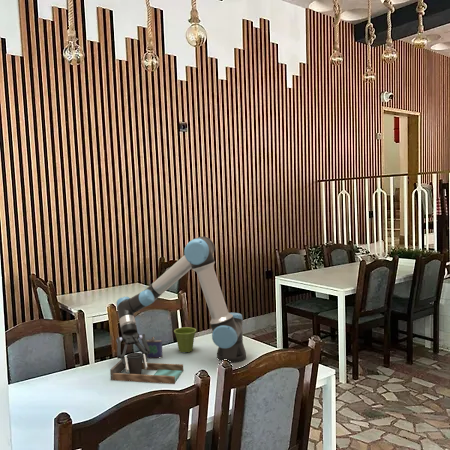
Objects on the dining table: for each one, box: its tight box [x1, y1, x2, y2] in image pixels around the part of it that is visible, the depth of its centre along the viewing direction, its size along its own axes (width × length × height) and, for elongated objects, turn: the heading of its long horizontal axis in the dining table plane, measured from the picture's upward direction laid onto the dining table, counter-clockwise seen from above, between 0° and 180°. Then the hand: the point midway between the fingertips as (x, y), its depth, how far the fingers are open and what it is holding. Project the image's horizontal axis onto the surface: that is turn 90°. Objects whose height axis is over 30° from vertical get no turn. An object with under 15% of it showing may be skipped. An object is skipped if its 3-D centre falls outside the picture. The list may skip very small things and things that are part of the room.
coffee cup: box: [125, 352, 144, 374], centre depth 233 cm, size 8×8×10 cm
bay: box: [109, 359, 184, 385], centre depth 232 cm, size 30×16×5 cm, turn 80°
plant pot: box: [173, 326, 197, 353], centre depth 266 cm, size 12×12×11 cm
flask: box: [146, 336, 163, 359], centre depth 256 cm, size 9×3×11 cm, turn 87°
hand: (136, 369), depth 230 cm, fingers closed on coffee cup, 8 cm apart
